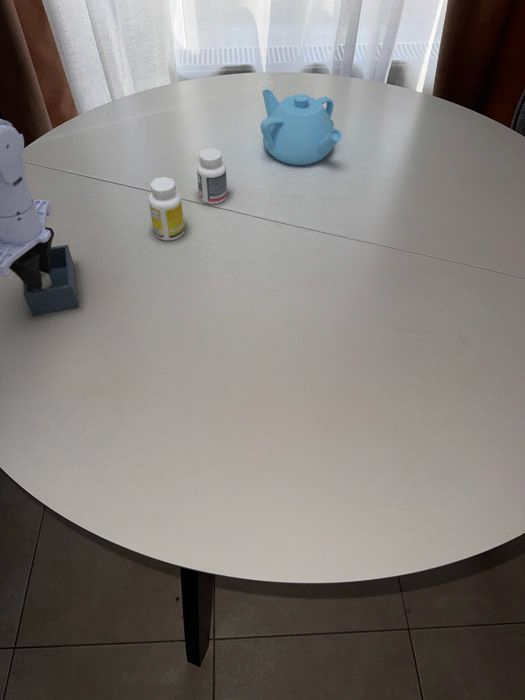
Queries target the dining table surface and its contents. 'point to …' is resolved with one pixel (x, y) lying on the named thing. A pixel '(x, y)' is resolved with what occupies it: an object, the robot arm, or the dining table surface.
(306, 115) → the teapot
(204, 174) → the pill bottle
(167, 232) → the supplement bottle
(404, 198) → the dining table surface
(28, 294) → the bin
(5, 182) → the robot arm
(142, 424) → the dining table surface
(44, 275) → the cube with brown bumps
